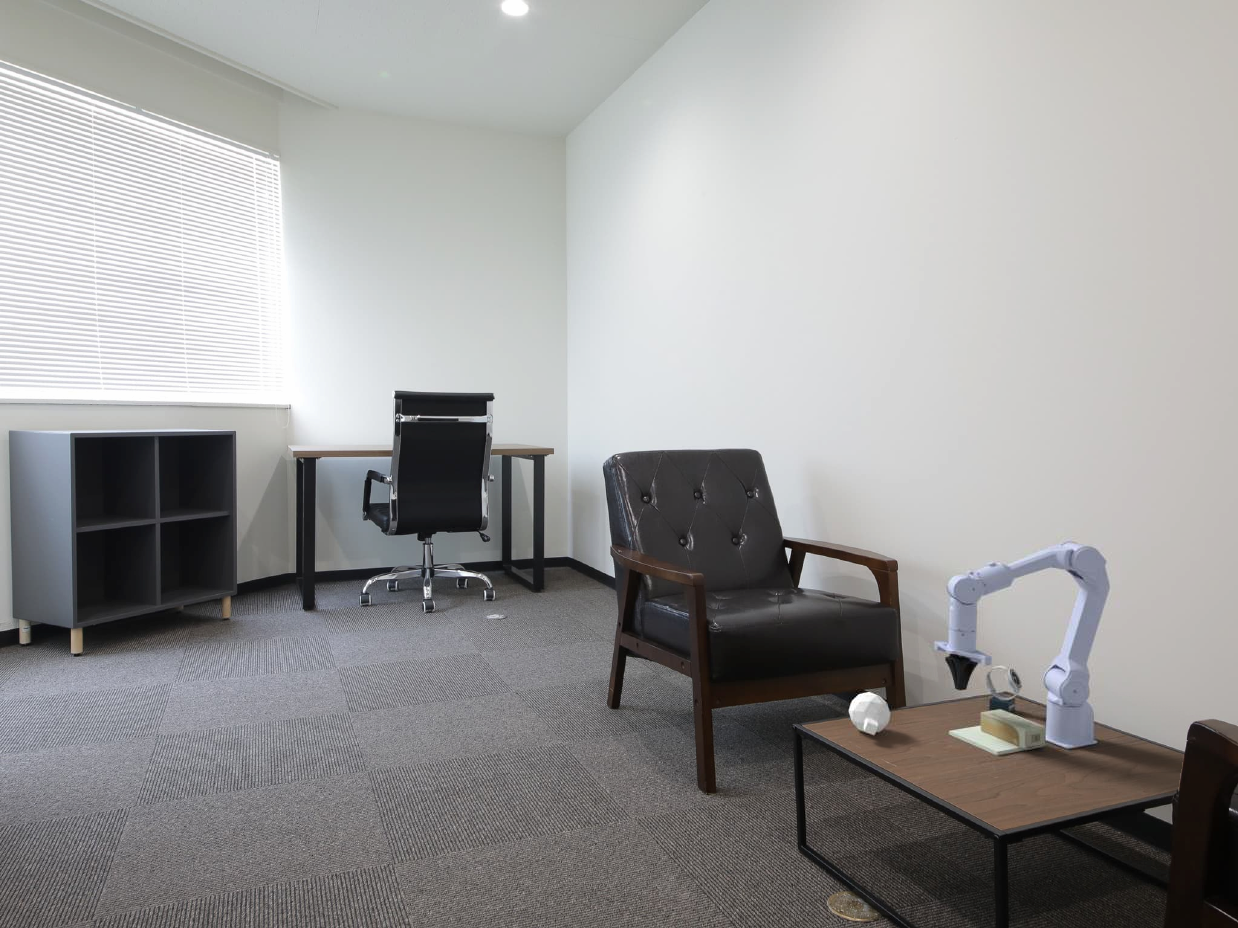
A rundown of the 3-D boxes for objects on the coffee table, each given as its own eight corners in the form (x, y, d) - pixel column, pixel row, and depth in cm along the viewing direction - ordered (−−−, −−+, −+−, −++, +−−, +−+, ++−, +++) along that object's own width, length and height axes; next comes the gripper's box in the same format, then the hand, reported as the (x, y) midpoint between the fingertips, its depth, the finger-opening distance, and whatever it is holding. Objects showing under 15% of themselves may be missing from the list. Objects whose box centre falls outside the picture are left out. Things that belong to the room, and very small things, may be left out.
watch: (1016, 717, 194) (1017, 672, 194) (981, 710, 200) (982, 665, 200) (1023, 712, 199) (1024, 667, 198) (989, 704, 204) (990, 661, 204)
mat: (994, 726, 188) (994, 723, 188) (1044, 746, 176) (1044, 742, 176) (949, 734, 183) (949, 730, 183) (997, 755, 170) (997, 751, 170)
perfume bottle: (843, 713, 190) (844, 737, 178) (856, 679, 188) (859, 702, 177) (879, 727, 188) (883, 753, 177) (893, 693, 186) (898, 717, 175)
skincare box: (1046, 745, 174) (1001, 727, 185) (1046, 725, 174) (1001, 708, 185) (1024, 749, 172) (979, 730, 183) (1024, 729, 172) (979, 711, 183)
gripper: (924, 623, 186) (923, 681, 187) (975, 637, 173) (973, 700, 173) (948, 621, 189) (946, 678, 190) (999, 635, 176) (997, 697, 176)
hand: (960, 689), depth 182 cm, fingers closed
